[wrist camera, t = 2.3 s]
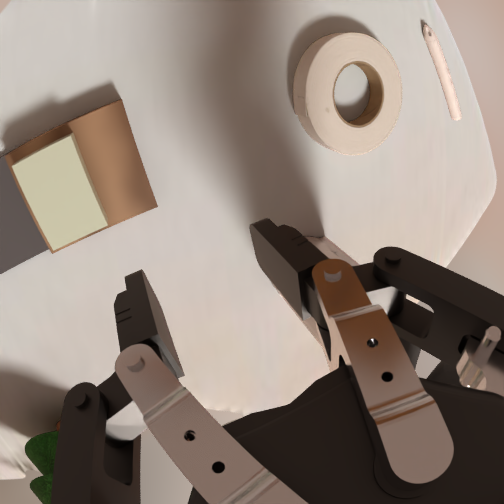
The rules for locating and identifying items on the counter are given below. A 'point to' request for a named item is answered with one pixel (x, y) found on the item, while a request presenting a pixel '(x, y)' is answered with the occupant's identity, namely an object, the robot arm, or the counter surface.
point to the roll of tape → (322, 92)
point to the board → (101, 163)
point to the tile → (60, 192)
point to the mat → (16, 224)
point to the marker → (442, 72)
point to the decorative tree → (43, 462)
